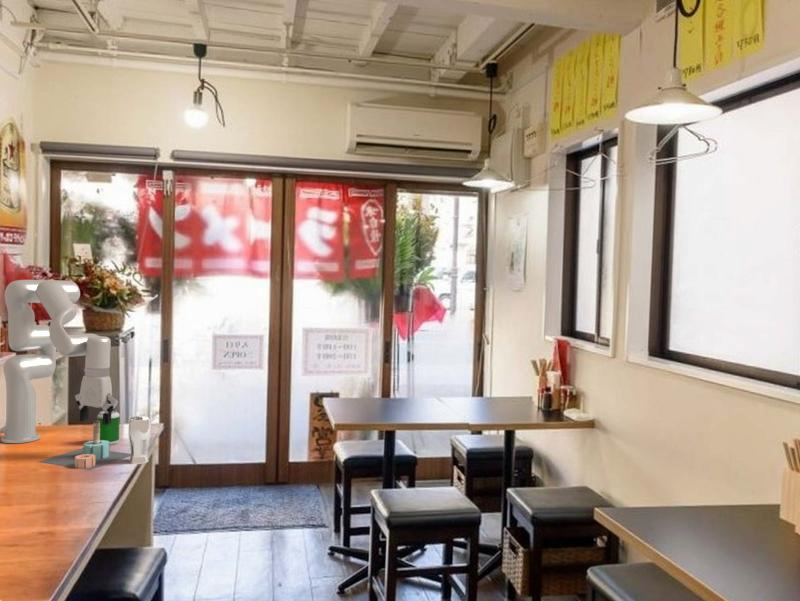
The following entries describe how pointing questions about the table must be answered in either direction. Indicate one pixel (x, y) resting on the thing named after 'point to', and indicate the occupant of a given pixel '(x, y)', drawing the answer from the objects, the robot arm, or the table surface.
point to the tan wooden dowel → (96, 432)
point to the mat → (69, 457)
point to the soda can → (109, 428)
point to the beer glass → (139, 438)
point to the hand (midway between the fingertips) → (95, 422)
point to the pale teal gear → (97, 449)
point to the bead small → (85, 461)
